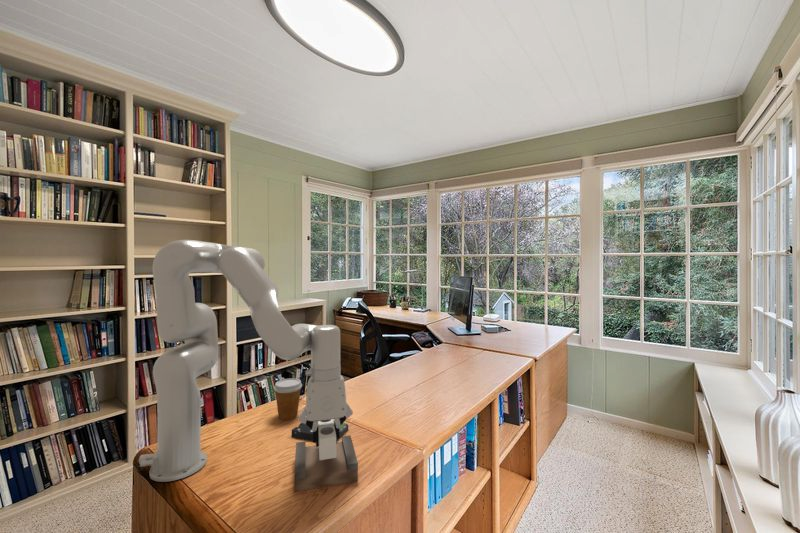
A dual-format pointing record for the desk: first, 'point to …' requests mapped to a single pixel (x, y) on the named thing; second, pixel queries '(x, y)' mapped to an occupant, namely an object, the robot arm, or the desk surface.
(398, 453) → the desk surface
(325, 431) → the white rectangular block
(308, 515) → the desk surface
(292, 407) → the disposable coffee cup
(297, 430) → the disk drive
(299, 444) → the display stand
